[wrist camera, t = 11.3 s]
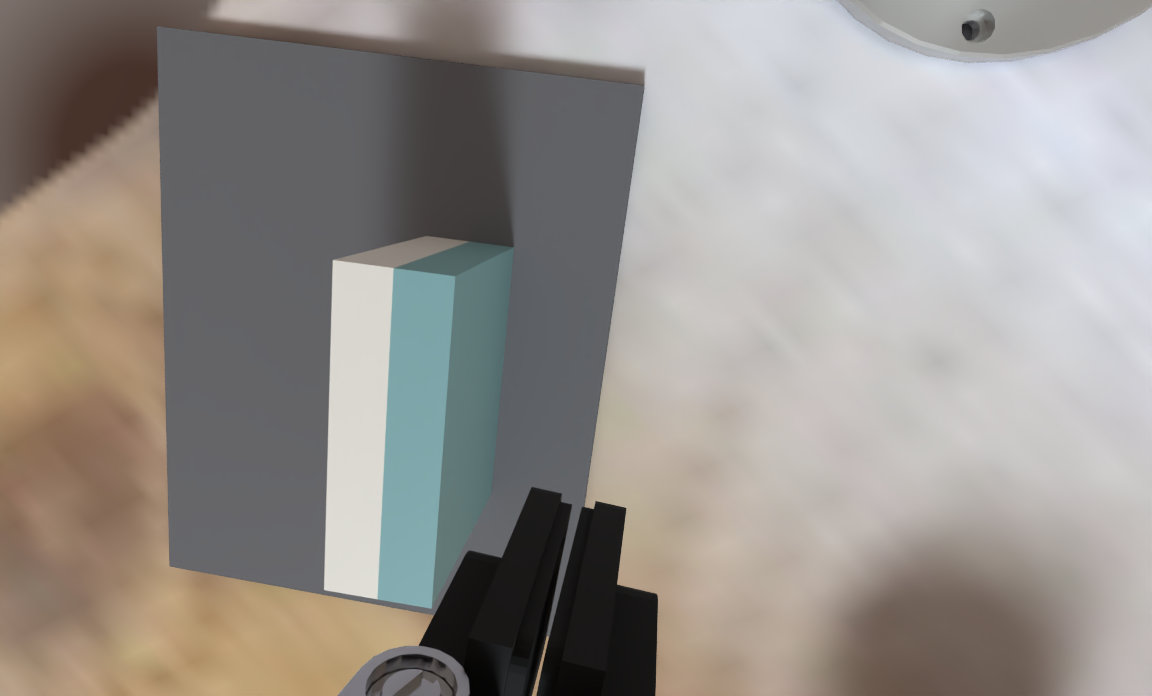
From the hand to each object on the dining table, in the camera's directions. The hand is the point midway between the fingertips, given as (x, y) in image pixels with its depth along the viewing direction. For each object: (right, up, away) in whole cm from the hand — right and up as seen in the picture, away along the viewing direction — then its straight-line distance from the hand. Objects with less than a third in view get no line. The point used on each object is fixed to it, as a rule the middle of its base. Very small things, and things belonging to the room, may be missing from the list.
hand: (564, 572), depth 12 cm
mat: (-7, +4, +13) cm, 15 cm away
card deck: (-4, +3, +12) cm, 13 cm away
